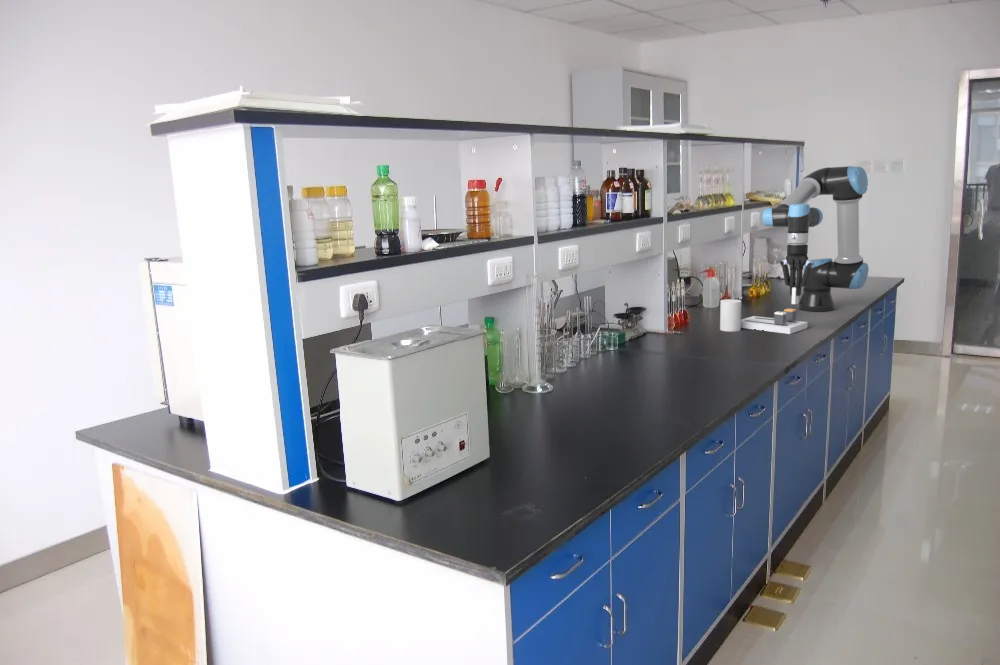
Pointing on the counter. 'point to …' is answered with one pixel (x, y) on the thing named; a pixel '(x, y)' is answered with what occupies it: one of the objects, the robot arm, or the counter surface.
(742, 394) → the counter surface
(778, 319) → the fader cream
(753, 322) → the panel
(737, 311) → the cup
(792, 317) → the fader orange
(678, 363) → the counter surface
